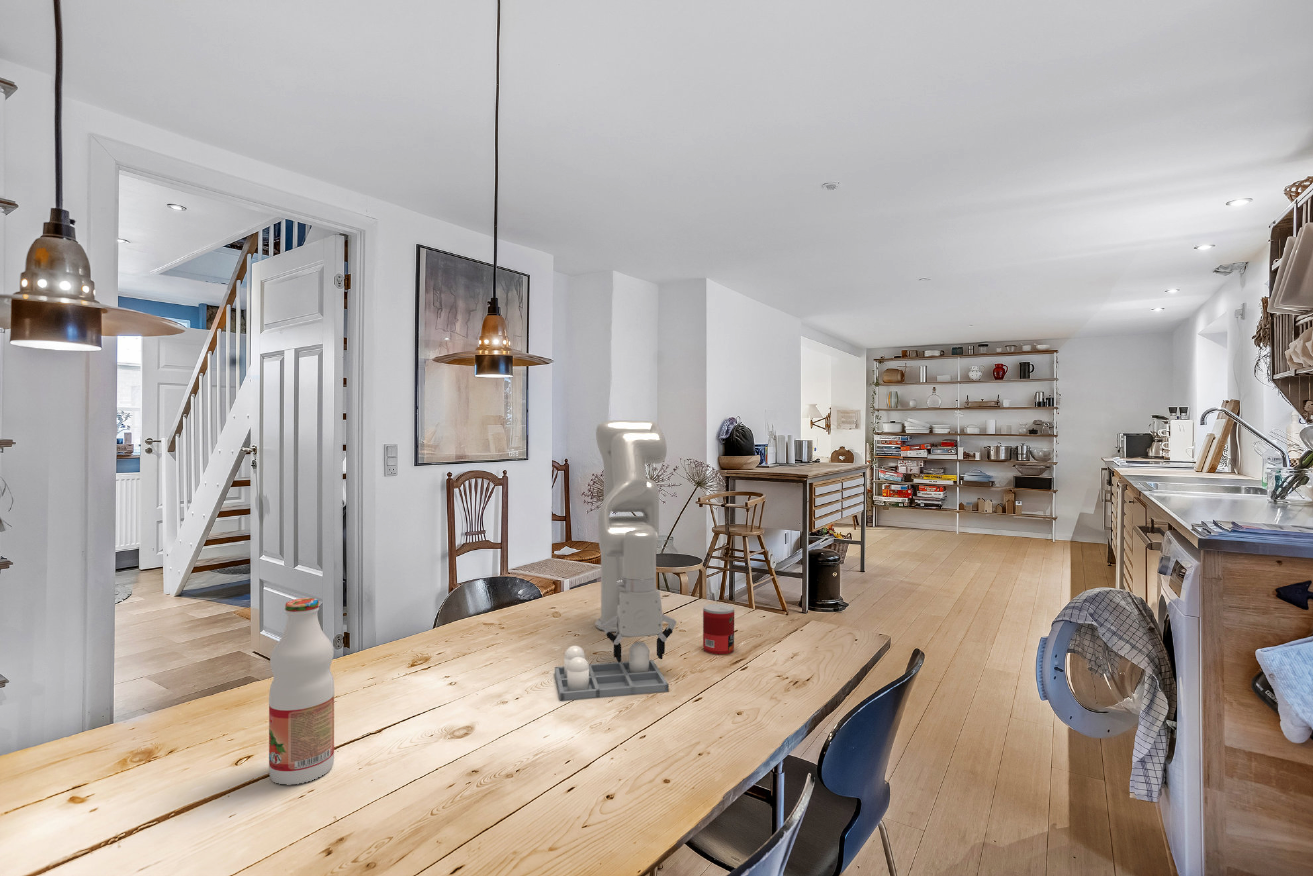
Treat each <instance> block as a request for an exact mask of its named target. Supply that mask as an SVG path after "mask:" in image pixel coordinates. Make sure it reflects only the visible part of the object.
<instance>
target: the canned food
mask: <svg viewBox="0 0 1313 876" xmlns="http://www.w3.org/2000/svg"><path fill="white" fill-rule="evenodd" d="M702 609H703V610H702V612H703V613H702V628H703V629H702V647H703V650H704V651H705V652H707V653H708V654H712V655H727V654H730V653H731V654H732V652H734V649H735V607H734V606H732V605H729V604H725V603H710V604H706V605H703V608H702Z"/></svg>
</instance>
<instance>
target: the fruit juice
mask: <svg viewBox="0 0 1313 876" xmlns="http://www.w3.org/2000/svg"><path fill="white" fill-rule="evenodd" d="M319 610H320V600H319V599H318V598H315V597H304V598H303V597H302V598H301V597H300V598H296V599H295V598H294V599H292V600H289V601H287V602H286V603H285V606H284V611H285V614H286V616H287V618H286V619H287V620H286V623H285V628H284V629H283V630H284V631H283V633H282V636H281V637H280V639H279V641H278V642H277V643H276V644H275V646H274V647H273V649H272V650H271V653H270V657H269V658H270V660H269V665H270V669H271V671H272V674H273V679H272V681H271V684H270V686H269V694H268V695H269V697H268V774H269V777H270V780H271V782H273V783H274V782H275V783H274V784H276V783H279V784H278V785H280V784H288V785H287V786H291V785H290V784H297V785H300V784H299V783H302V784H305V783H304V782H306V783H309V782H308V781H310V782H313V781H315V780H318V779H319V778H318V777H320V778H322V777H323V776H325V775H326V774H327V773H328V772H330V771H331V770H332V768H333V766H334V761H335V681H334V680H335V679H334V676H333V673H332V671H331V665H332V662H333V657H334V646H333V644H332V642H331V640H330V639H329V637H328V636H327V635H326V634H325V633H324V631H323V630H322V627H321V625H320V621H319V618H318V611H319ZM324 774H325V775H324ZM322 775H323V776H322ZM314 779H315V780H314ZM312 780H313V781H312Z"/></svg>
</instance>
